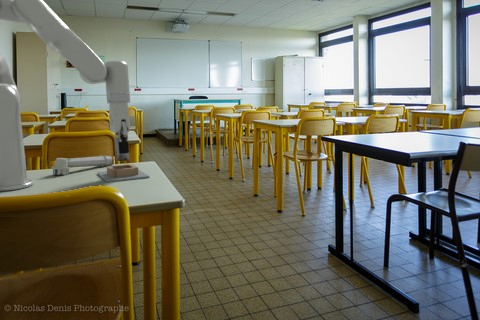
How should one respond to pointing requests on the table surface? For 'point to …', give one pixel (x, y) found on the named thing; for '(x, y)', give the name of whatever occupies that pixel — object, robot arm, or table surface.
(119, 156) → the grey and brass cylinder
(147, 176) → the socket block
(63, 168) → the white long slender part
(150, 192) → the table surface
